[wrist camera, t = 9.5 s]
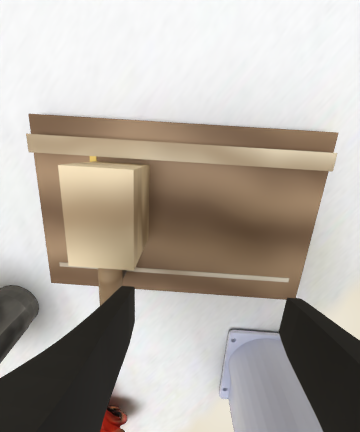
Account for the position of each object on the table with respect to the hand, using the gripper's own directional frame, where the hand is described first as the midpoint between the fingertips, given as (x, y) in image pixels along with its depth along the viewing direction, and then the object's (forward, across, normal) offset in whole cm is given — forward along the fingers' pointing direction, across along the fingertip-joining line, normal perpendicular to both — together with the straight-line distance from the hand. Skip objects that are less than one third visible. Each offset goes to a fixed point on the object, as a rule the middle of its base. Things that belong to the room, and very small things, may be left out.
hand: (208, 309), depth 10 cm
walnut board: (+9, +2, -2) cm, 10 cm away
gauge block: (+8, +6, -1) cm, 10 cm away
